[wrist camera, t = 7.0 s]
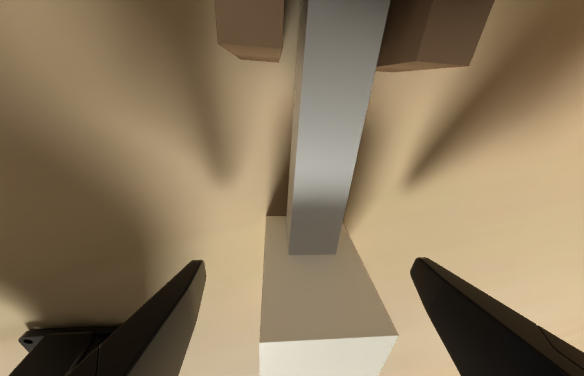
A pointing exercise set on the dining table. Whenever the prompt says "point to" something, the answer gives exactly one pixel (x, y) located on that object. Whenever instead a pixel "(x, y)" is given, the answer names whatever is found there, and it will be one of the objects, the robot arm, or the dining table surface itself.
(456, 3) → the housing
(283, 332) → the grey bar
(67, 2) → the dining table surface
